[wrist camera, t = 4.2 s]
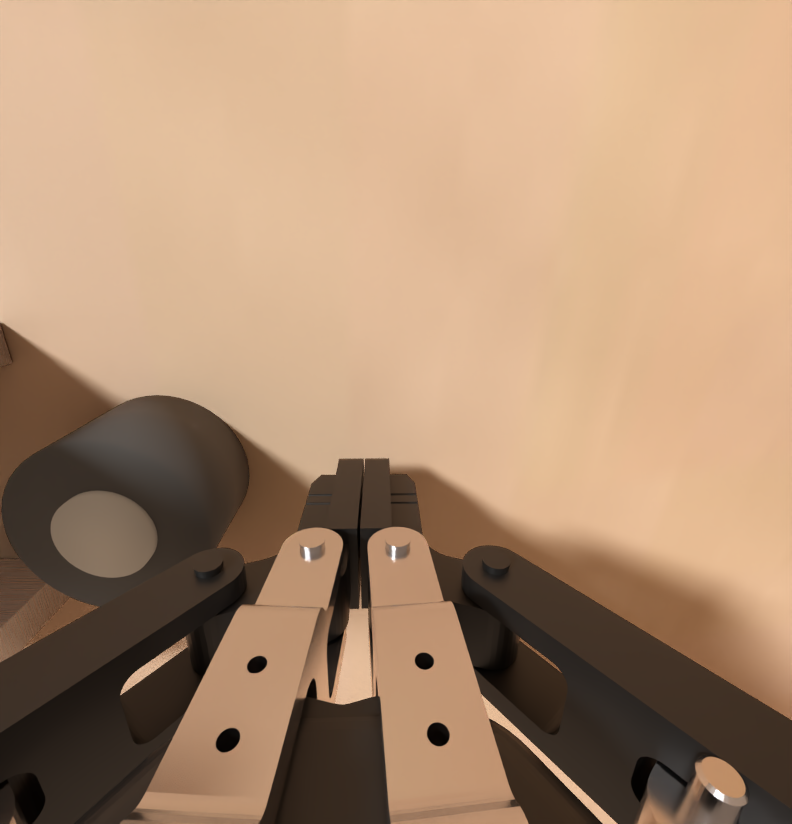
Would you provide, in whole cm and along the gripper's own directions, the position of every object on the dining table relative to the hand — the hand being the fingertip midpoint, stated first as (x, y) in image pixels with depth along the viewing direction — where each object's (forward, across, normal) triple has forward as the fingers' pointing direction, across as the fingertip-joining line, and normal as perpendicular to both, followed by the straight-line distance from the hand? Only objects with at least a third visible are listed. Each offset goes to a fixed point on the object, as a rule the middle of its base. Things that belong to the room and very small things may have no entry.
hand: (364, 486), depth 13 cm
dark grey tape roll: (+1, +6, 0) cm, 6 cm away
